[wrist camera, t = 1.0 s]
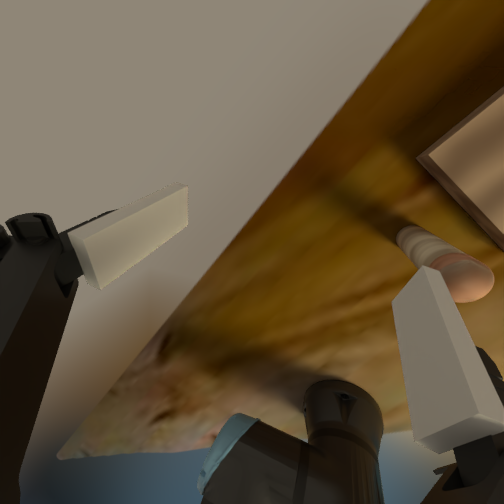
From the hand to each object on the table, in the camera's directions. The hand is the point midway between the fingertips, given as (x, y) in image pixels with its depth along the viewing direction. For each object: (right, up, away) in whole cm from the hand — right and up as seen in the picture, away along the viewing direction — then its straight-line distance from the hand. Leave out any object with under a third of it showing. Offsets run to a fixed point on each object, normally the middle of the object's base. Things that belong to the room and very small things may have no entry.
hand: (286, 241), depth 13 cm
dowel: (+22, +1, +21) cm, 31 cm away
